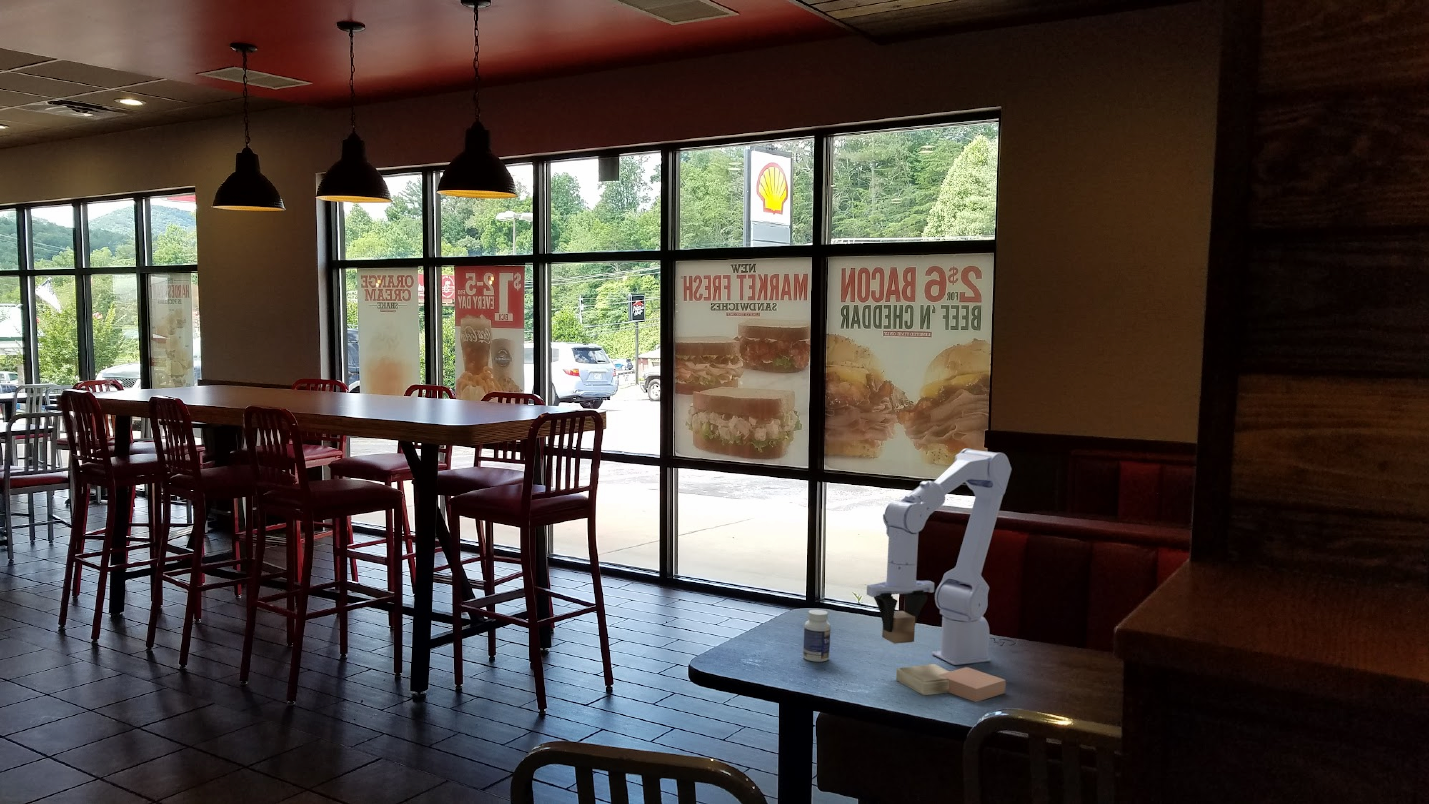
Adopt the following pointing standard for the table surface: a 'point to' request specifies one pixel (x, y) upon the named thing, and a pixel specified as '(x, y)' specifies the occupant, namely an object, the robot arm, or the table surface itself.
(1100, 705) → the table surface
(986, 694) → the salmon pink slab
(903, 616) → the walnut block
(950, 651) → the robot arm
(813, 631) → the pill bottle
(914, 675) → the birch plinth
